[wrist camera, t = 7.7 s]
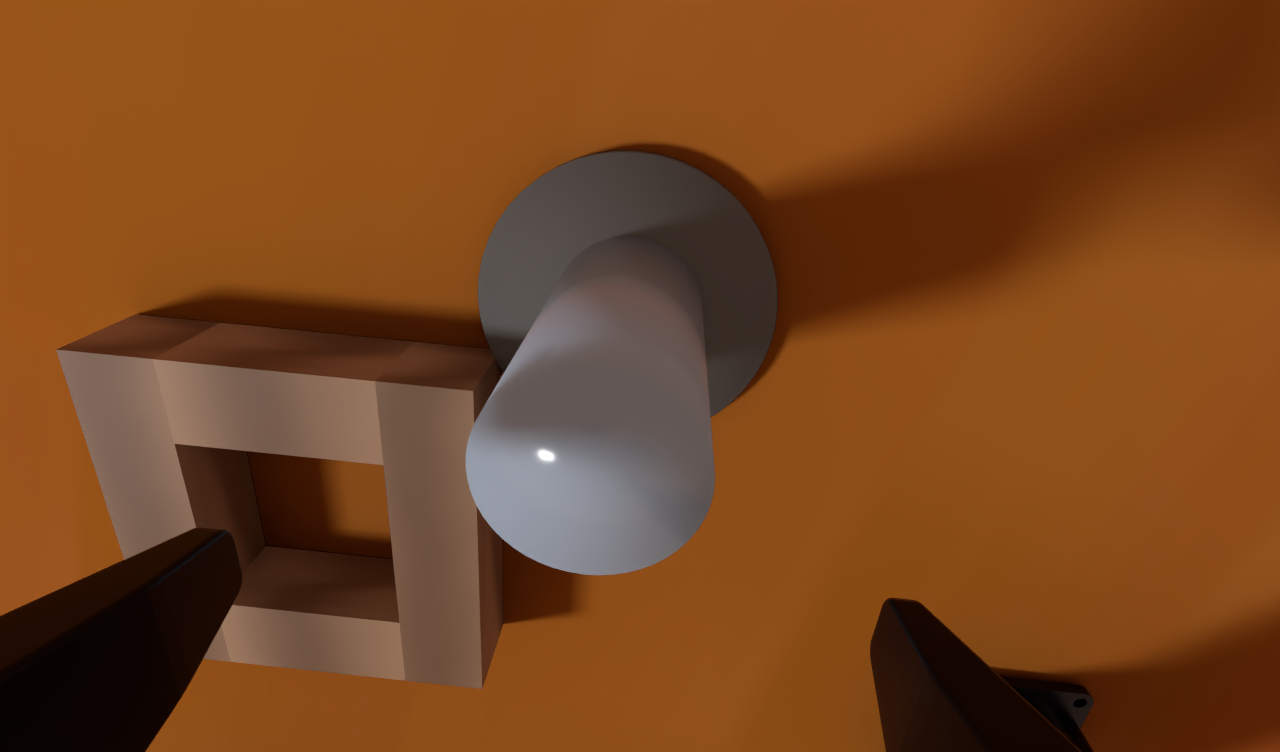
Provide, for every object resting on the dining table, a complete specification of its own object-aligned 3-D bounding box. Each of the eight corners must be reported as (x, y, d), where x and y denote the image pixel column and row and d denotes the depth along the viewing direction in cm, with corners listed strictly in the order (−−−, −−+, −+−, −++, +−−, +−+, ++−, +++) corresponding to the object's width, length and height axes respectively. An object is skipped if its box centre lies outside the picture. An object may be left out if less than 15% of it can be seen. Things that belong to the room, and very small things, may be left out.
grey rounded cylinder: (711, 244, 19) (732, 378, 10) (692, 382, 21) (698, 586, 12) (558, 229, 19) (461, 350, 11) (553, 368, 21) (469, 561, 12)
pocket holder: (500, 350, 21) (473, 390, 18) (502, 624, 26) (482, 688, 23) (136, 314, 21) (56, 349, 19) (208, 593, 26) (155, 653, 24)
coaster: (800, 165, 18) (803, 168, 18) (750, 443, 22) (752, 452, 21) (479, 135, 18) (474, 138, 18) (486, 416, 22) (481, 424, 22)
